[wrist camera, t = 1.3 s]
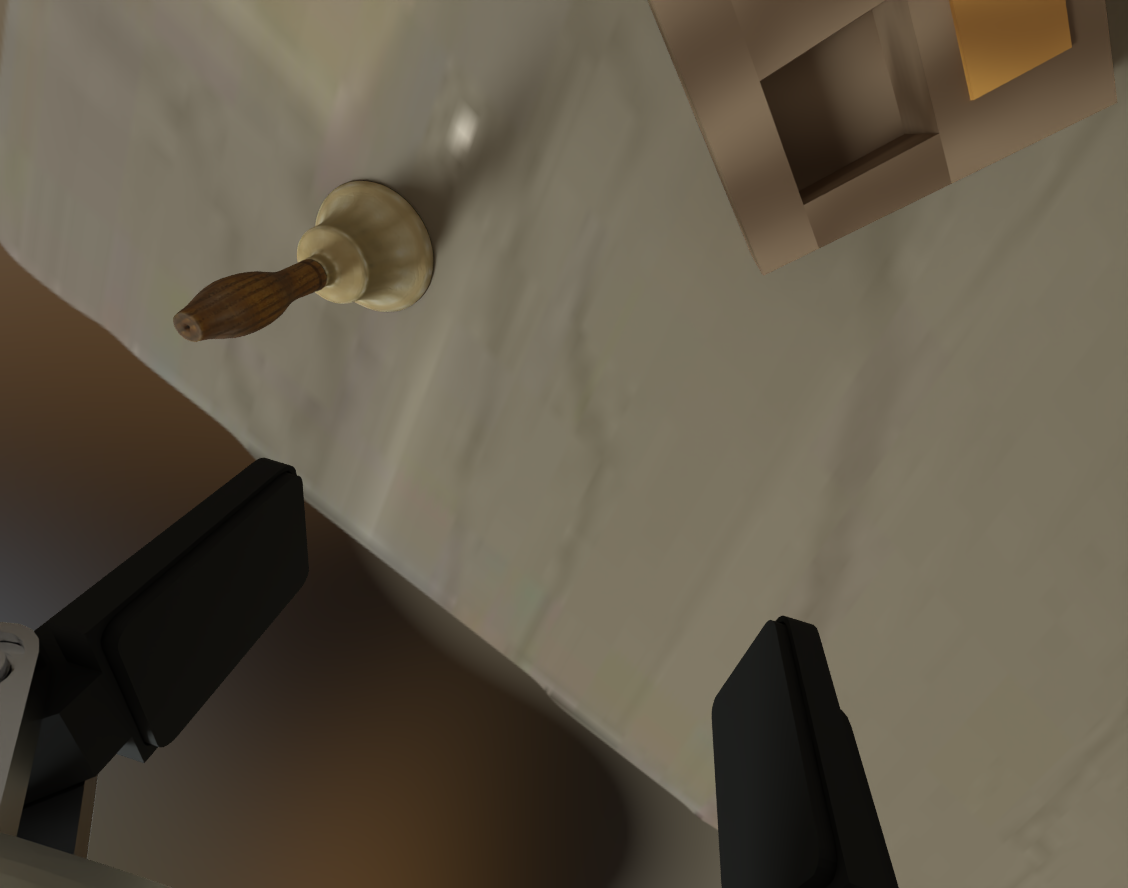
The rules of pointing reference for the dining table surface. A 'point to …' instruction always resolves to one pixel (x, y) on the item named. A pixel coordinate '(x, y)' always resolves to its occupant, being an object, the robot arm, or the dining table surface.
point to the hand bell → (326, 267)
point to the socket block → (874, 100)
